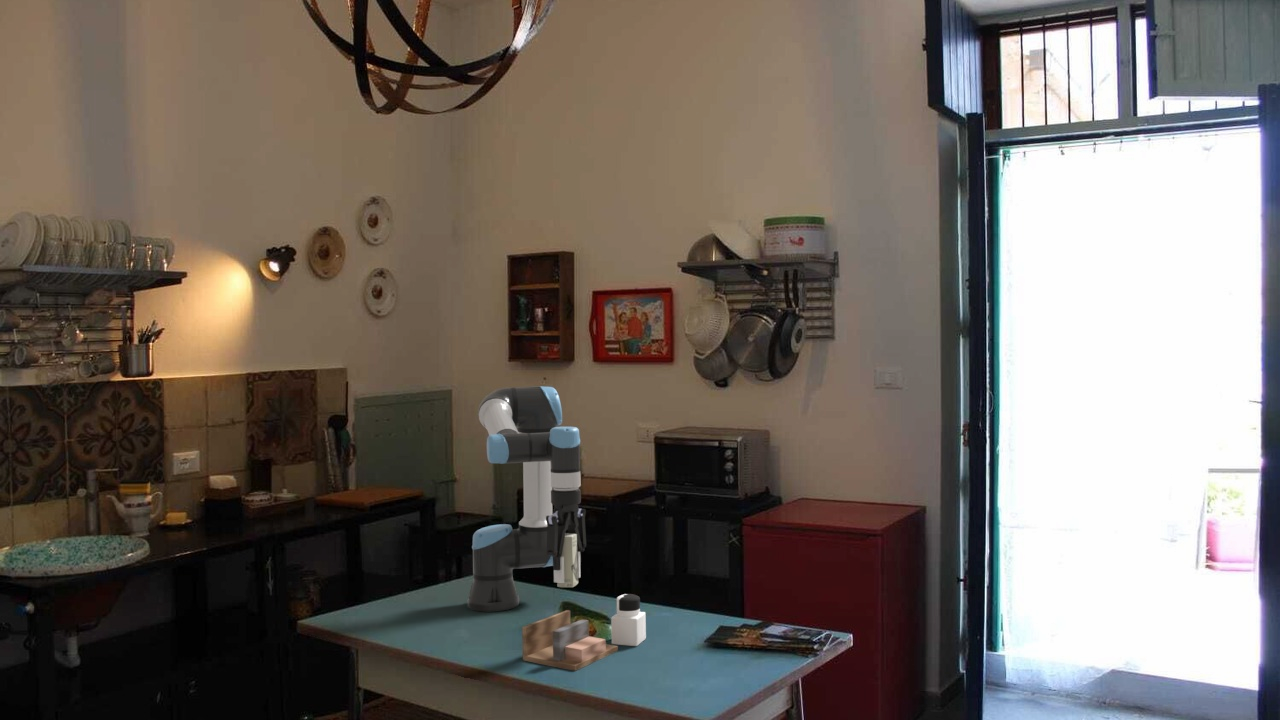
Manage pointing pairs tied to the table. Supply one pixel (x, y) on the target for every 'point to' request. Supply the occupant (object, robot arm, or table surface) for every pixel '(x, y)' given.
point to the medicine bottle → (628, 621)
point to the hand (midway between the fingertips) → (567, 579)
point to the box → (570, 561)
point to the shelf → (545, 643)
